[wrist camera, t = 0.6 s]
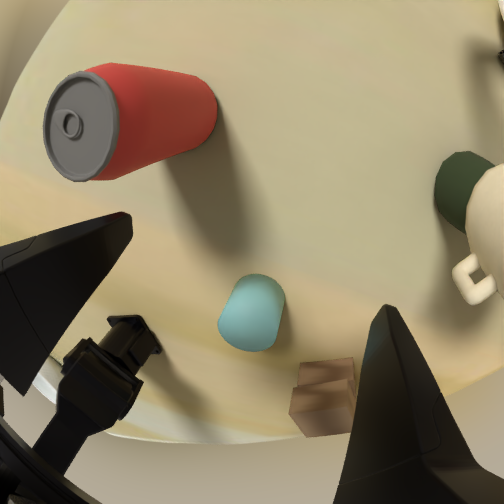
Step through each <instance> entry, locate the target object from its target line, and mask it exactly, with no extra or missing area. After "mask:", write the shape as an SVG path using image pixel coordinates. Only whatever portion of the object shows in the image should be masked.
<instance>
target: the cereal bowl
mask: <svg viewBox="0 0 504 504" xmlns="http://www.w3.org/2000/svg"><path fill="white" fill-rule="evenodd" d="M62 369H63V368H62V367H61V366H60V365H59V364H58V363H57V362H56V361H55V360H54V359H53V358H51V357H50V356H48V358H47V360H46V361H45V363H44V364H43V366H42V368H41V369H40V371H39V372H38V374H37V376H36V377H35V379H34V381H33V382H32V384H33V385H34V386H35V387H36V388H37V389H38V390H39V391H40V392H41V393H42V394H43V395H44V396H45V397H46V398H48V399H49V400H50V401H51V402H53V403H54V404H56V394H57V388H58V385H59V382H60V381H61V380H62V378H63V377H64V376H63V375H62V374H61V373H60V372H61V370H62Z"/></svg>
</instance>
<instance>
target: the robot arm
mask: <svg viewBox="0 0 504 504" xmlns="http://www.w3.org/2000/svg"><path fill="white" fill-rule="evenodd" d="M132 237H133V226H132V217H131V215H130V214H128V213H125V212H117V213H113V214H109V215H105V216H102V217H98V218H94V219H90V220H87V221H83V222H80V223H76V224H73V225H69V226H66V227H62V228H59V229H56V230H53V231H49V232H46V233H43V234H40V235H38V236H33V237H30V238H27V239H24V240H21V241H18V242H14V243H11V244H7V245H4V246H0V383H1V382H2V380H3V379H4V378H5V379H6V380H7V381H8V382H9V383H10V384H11V385H12V386H13V387H14V388H15V389H16V390H17V391H18V392H19V393H20V394H21V395H22V396H25V394H26V393H27V391H28V389H29V388H30V386H31V384H32V382H33V381H34V379H35V377H36V376H37V374H38V372H39V371H40V369H41V368H42V366H43V364H44V363H45V361H46V360H47V358H48V356H49V355H50V353H51V352H52V350H53V349H54V347H55V346H56V344H57V343H58V341H59V340H60V338H61V337H62V335H63V334H64V332H65V331H66V329H67V328H68V326H69V325H70V324H71V322H72V321H73V319H74V318H75V317H76V315H77V314H78V312H79V311H80V310H81V308H82V307H83V306H84V304H85V303H86V302H87V300H88V299H89V298H90V296H91V295H92V294H93V292H94V291H95V290H96V288H97V287H98V286H99V285H100V283H101V282H102V281H103V279H104V278H105V277H106V276H107V274H108V273H109V272H110V270H111V269H112V268H113V266H114V265H115V263H116V262H117V260H118V259H119V257H120V256H121V254H122V253H123V251H124V250H125V248H126V247H127V245H128V244H129V242H130V241H131V239H132ZM107 321H108V323H109V324H110V326H111V327H112V328H111V330H110V331H109V332H108V333H107V334H106V336H105V337H104V338H103V339H102V340H101V342H100V343H99V344H98V345H97V344H96V343H95V342H94V341H93V339H91V338H90V337H89V338H88V339H83V338H82V339H81V341H80V342H79V343H78V344H77V345H76V346H75V347H74V348H73V349H72V350H71V351H70V352H69V353H68V354H67V355H66V356H65V357H64V358H63V364H64V365H63V367H62V368H63V369H62V370H61V372H60V373H61V374H62V375H63V376H64V377H63V378H62V380H61V381H60V382H59V385H58V388H57V394H56V414H55V415H54V417H53V418H52V420H51V421H50V422H49V424H48V425H47V427H46V428H45V430H44V431H43V433H42V434H41V436H40V437H39V439H38V440H37V441H36V443H35V444H34V446H33V448H31V447H30V446H29V445H28V444H27V443H26V442H24V440H23V439H22V438H21V437H19V435H18V434H17V433H16V432H15V431H14V430H13V429H12V428H11V427H10V426H9V425H8V423H6V421H5V420H4V419H3V416H4V403H3V402H4V401H3V387H2V386H1V385H0V504H102V503H100V502H99V501H97V500H96V499H94V498H93V497H91V496H90V495H88V494H87V493H85V492H84V491H83V490H81V489H79V488H78V487H77V486H76V485H74V484H73V483H72V482H70V481H69V480H68V479H66V478H65V477H64V474H65V472H66V471H67V469H68V467H69V466H70V464H71V463H72V461H73V459H74V458H75V456H76V454H77V453H78V451H79V450H80V448H81V446H82V445H83V443H84V442H85V440H86V438H87V437H88V436H90V435H93V434H96V433H98V432H100V431H103V430H106V429H108V428H110V427H112V426H113V425H114V424H115V422H116V421H117V419H118V420H119V421H120V420H122V419H123V418H124V417H125V416H126V415H127V413H128V412H129V411H130V409H131V408H132V406H133V404H134V402H135V400H136V398H137V396H138V393H139V391H140V389H141V387H142V385H143V383H144V382H143V381H142V380H141V379H140V380H139V379H138V378H137V377H136V376H135V375H136V374H137V372H138V371H139V369H140V367H141V366H143V365H144V363H145V362H146V360H147V359H148V357H149V356H150V354H160V353H161V352H162V350H161V348H160V347H159V345H158V344H157V342H156V341H155V339H154V337H153V336H152V334H151V333H150V331H149V329H148V328H147V326H146V324H145V323H144V321H143V320H142V318H141V317H140V316H139V315H124V316H109V317H108V318H107ZM333 504H504V479H502V478H500V477H499V476H496V475H495V474H493V473H491V472H489V471H487V470H485V469H484V468H482V467H481V466H480V465H479V464H478V463H477V462H476V460H475V459H474V457H473V455H472V453H471V451H470V449H469V447H468V445H467V443H466V441H465V439H464V437H463V435H462V433H461V431H460V429H459V428H458V426H457V424H456V422H455V420H454V418H453V416H452V414H451V412H450V409H449V407H448V405H447V403H446V401H445V399H444V397H443V395H442V393H441V392H440V388H439V386H438V384H437V382H436V380H435V378H434V376H433V374H432V372H431V370H430V368H429V366H428V364H427V362H426V360H425V358H424V356H423V354H422V353H421V351H420V349H419V347H418V345H417V343H416V341H415V340H414V338H413V336H412V334H411V332H410V331H409V329H408V327H407V325H406V323H405V322H404V320H403V318H402V317H401V315H400V313H399V311H398V310H397V308H396V307H394V306H391V305H388V304H384V305H383V306H382V307H381V309H380V310H379V312H378V313H377V315H376V316H375V318H374V319H373V321H372V323H371V326H370V330H369V335H368V340H367V345H366V349H365V354H364V358H363V363H362V368H361V374H360V382H359V389H358V396H357V402H356V408H355V414H354V419H353V425H352V430H351V435H350V440H349V444H348V449H347V453H346V458H345V462H344V466H343V470H342V474H341V478H340V481H339V485H338V488H337V492H336V495H335V498H334V501H333Z"/></svg>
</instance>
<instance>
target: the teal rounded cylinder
mask: <svg viewBox="0 0 504 504" xmlns="http://www.w3.org/2000/svg"><path fill="white" fill-rule="evenodd" d="M284 302H285V295H284V291H283V289H282V287H281V286H280V285H279V284H278V283H277V282H276V281H275V280H273V279H272V278H270V277H268V276H265V275H261V274H251V275H247V276H244V277H242V278H241V279H240V280H239V281H238V282H237V283H236V285H235V287H234V289H233V291H232V293H231V295H230V297H229V299H228V301H227V303H226V305H225V307H224V309H223V311H222V314H221V316H220V318H219V320H218V329H219V332H220V334H221V336H222V337H223V338H224V339H225V341H227V342H228V343H229V344H230V345H232V346H234V347H236V348H238V349H241V350H244V351H251V352H257V351H262V350H265V349H267V348H269V347H271V346H272V345H273V343H274V342H275V340H276V337H277V333H278V328H279V324H280V320H281V315H282V311H283V306H284Z"/></svg>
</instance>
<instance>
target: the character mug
mask: <svg viewBox="0 0 504 504" xmlns="http://www.w3.org/2000/svg"><path fill="white" fill-rule="evenodd" d="M435 198H436V201H437V205H438V209H439V212H440V213H441V214H442V215H443V216H444V217H445V219H446V220H447V221H448V222H449V223H451V224H452V225H453V226H455V227H456V228H457V229H459V230H460V231H462V232H463V233H465V234H466V235H467V238H468V242H469V247H470V252H471V254H470V255H469V256H468V257H466V258H465V259H464V260H462V261H461V262H459V263H458V264H457V265H456V266H455V267H454V268H453V269H452V279H453V281H454V283H455V284H456V286H457V288H458V289H459V291H460V293H461V295H462V296H463V298H464V300H465V301H466V302H467V303H469V304H470V305H472V306H474V305H477V304H480V303H481V302H482V301H484V300H485V299H487V298H488V297H489V296H491V295H492V294H494V293H495V292H496V291H498V292H499V293H500V295H501V296H502V298H503V299H504V164H503V163H502V164H500V165H498V166H495V165H494V164H492V163H491V162H489V161H487V160H486V159H484V158H483V157H481V156H479V155H477V154H475V153H472V152H470V151H466V152H455V153H454V154H453V155H451V156H450V157H449V158H447V159H446V160H445V161H443V163H442V165H441V167H440V170H439V172H438V174H437V176H436V184H435ZM480 267H481V269H482V270H483V271H484V273H485V274H486V276H487V277H485V278H484V279H482V280H481V281H480V282H478V283H477V284H474V282H473V281H472V279H471V278H470V276H469V275H471V274H472V273H473V272H475V271H476V270H478V269H479V268H480Z"/></svg>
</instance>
